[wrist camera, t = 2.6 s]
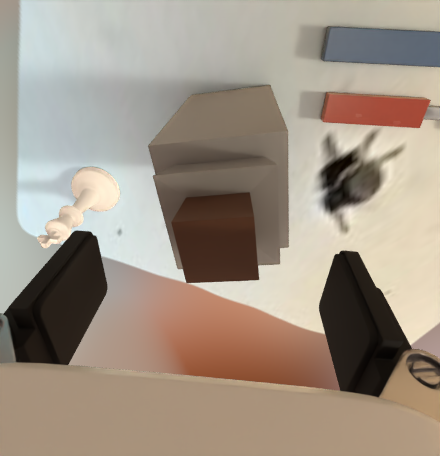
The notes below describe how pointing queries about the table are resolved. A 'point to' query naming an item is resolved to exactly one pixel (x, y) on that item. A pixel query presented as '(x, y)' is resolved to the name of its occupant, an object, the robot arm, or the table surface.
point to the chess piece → (82, 203)
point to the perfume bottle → (224, 183)
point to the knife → (382, 46)
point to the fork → (378, 110)
